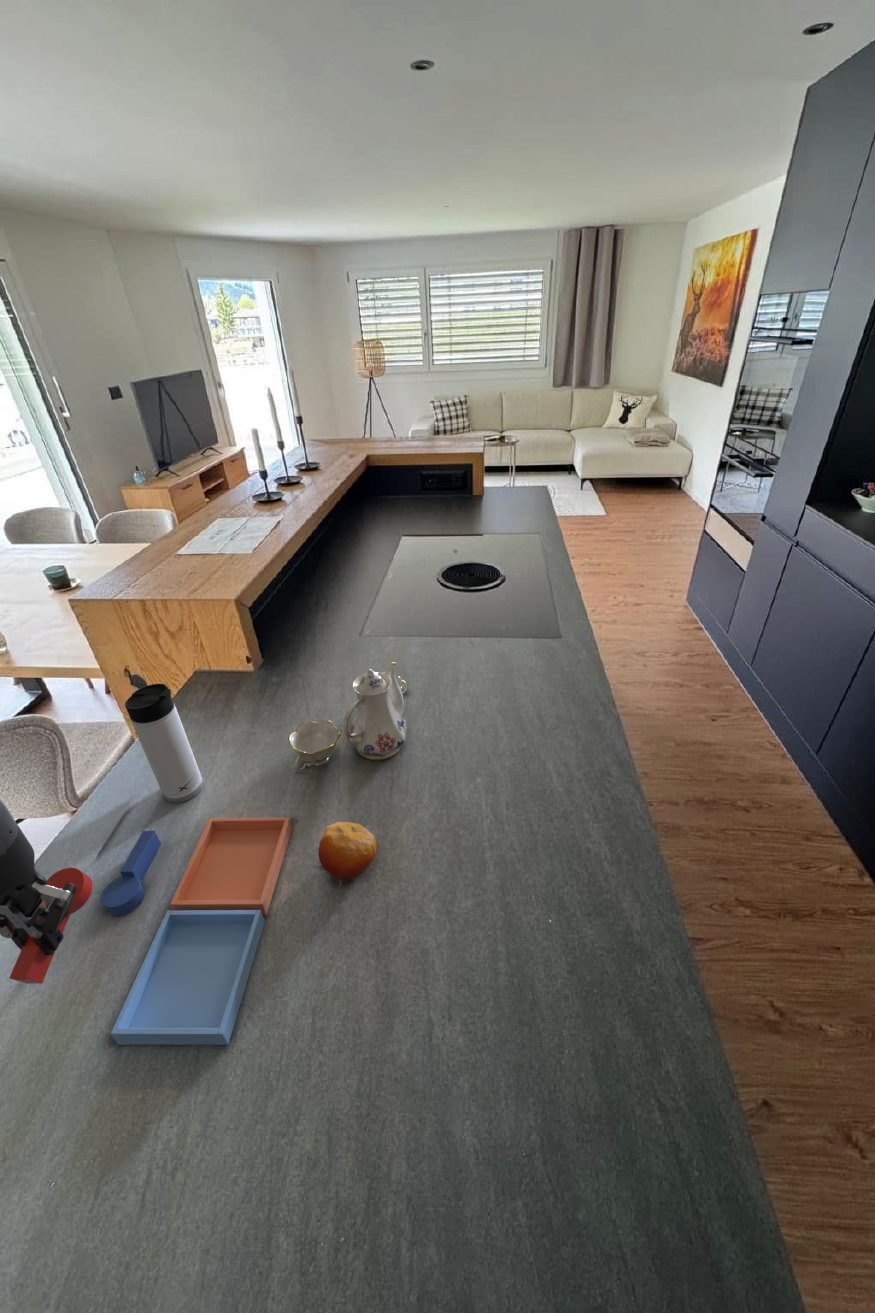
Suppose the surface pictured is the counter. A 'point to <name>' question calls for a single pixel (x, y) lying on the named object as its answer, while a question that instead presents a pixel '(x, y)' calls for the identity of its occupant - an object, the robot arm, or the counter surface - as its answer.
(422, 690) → the counter surface
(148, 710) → the travel mug
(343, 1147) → the counter surface
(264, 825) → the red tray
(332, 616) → the counter surface
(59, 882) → the red spoon
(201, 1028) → the blue tray
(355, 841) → the fruit
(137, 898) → the blue spoon
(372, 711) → the chinaware
